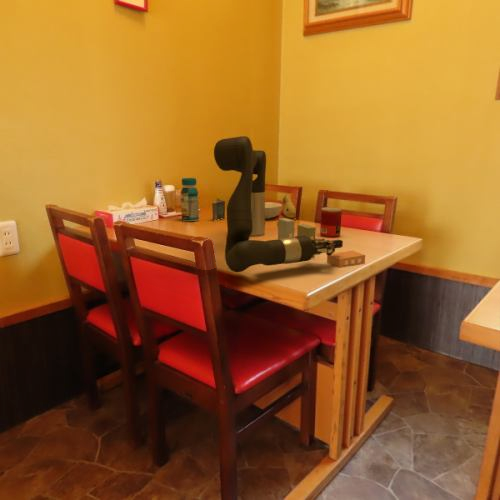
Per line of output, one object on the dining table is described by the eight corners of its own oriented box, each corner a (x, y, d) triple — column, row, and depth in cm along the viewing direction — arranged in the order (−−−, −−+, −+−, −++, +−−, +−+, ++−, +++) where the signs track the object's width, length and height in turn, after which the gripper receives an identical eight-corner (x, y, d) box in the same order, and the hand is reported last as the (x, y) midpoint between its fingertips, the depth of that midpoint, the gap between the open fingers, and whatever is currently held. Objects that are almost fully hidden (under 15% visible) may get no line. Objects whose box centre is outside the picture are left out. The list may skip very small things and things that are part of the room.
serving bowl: (289, 217, 208) (289, 203, 206) (268, 223, 190) (268, 208, 189) (254, 213, 218) (254, 200, 216) (231, 219, 201) (231, 205, 199)
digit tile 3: (340, 259, 123) (365, 255, 127) (327, 254, 128) (352, 250, 132) (339, 268, 124) (365, 264, 128) (326, 263, 129) (351, 259, 133)
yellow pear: (289, 231, 173) (290, 196, 169) (274, 227, 182) (275, 193, 178) (302, 230, 176) (303, 195, 172) (287, 225, 185) (288, 192, 181)
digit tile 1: (286, 249, 144) (287, 221, 141) (277, 246, 149) (278, 218, 146) (294, 248, 145) (294, 221, 142) (284, 245, 150) (285, 218, 148)
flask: (215, 221, 195) (215, 198, 192) (210, 220, 196) (210, 198, 194) (226, 218, 203) (225, 196, 200) (221, 218, 204) (220, 196, 202)
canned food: (340, 238, 161) (341, 210, 158) (319, 237, 163) (320, 209, 160) (340, 234, 168) (341, 207, 166) (320, 233, 170) (321, 206, 167)
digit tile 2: (307, 258, 133) (308, 228, 130) (296, 254, 138) (297, 224, 136) (314, 257, 134) (316, 227, 132) (304, 253, 140) (305, 224, 137)
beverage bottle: (198, 222, 193) (196, 179, 188) (180, 222, 193) (178, 179, 188) (200, 218, 201) (199, 177, 196) (183, 218, 201) (181, 177, 196)
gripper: (306, 242, 112) (356, 235, 119) (281, 232, 123) (328, 227, 130) (305, 268, 113) (354, 260, 121) (281, 256, 125) (327, 250, 132)
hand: (341, 243), depth 126 cm, fingers closed
